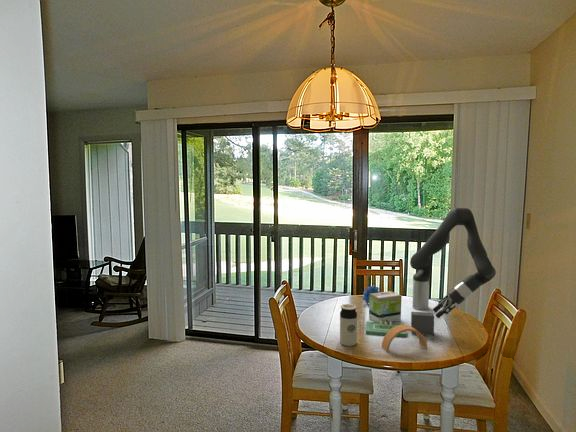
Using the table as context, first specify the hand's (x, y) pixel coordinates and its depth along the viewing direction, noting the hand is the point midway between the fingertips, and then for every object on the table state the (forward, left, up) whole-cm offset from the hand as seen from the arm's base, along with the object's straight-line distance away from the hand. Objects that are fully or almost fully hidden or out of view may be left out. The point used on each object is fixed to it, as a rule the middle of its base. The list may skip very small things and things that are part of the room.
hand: (435, 313), depth 192 cm
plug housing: (0, -6, -10) cm, 12 cm away
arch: (+20, -16, -11) cm, 28 cm away
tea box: (-16, -24, -11) cm, 31 cm away
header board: (0, -24, -10) cm, 26 cm away
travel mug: (+20, -42, -11) cm, 48 cm away
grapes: (-45, -32, -11) cm, 56 cm away
